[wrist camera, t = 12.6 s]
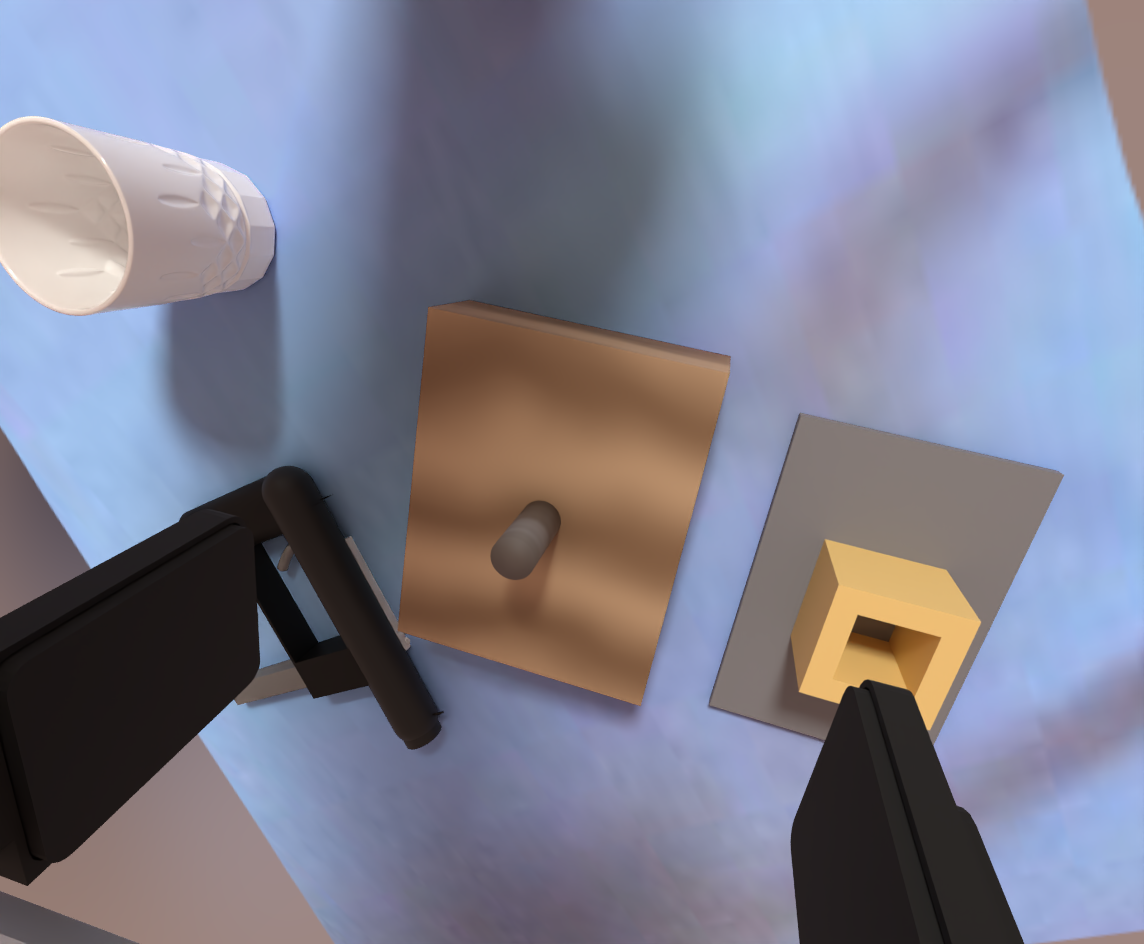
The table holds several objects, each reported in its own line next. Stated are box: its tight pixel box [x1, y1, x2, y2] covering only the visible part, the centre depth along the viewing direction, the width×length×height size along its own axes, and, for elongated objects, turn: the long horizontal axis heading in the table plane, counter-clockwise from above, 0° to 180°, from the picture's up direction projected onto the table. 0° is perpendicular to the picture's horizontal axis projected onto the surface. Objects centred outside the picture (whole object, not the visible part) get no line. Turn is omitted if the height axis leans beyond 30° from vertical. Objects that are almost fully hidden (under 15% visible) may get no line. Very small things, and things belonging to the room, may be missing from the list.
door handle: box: [179, 466, 444, 750], centre depth 44 cm, size 3×20×16 cm
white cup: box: [0, 116, 275, 316], centre depth 32 cm, size 8×8×10 cm
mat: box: [709, 413, 1064, 745], centre depth 34 cm, size 18×12×1 cm, turn 170°
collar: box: [791, 539, 981, 730], centre depth 32 cm, size 6×6×5 cm
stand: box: [398, 300, 731, 706], centre depth 32 cm, size 18×14×10 cm
